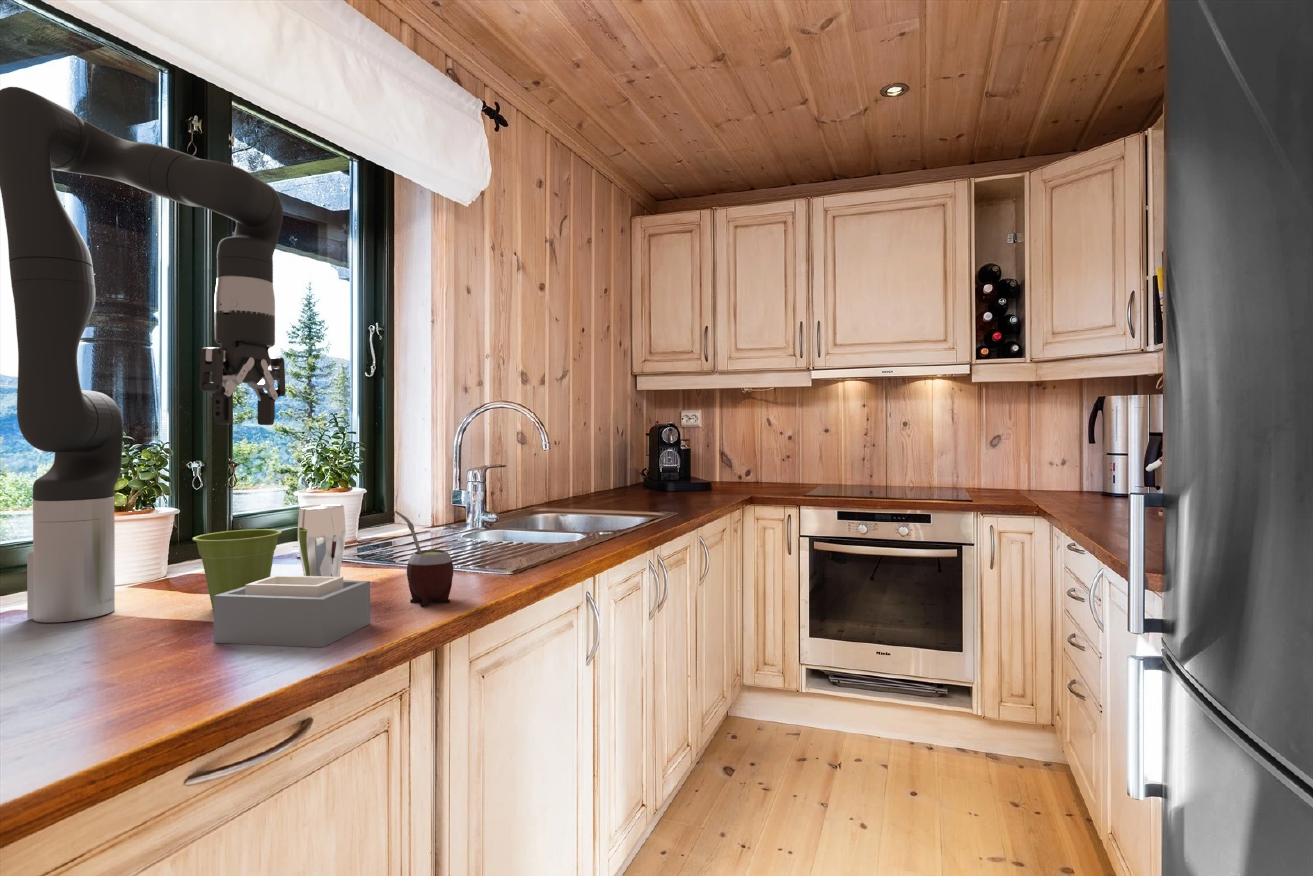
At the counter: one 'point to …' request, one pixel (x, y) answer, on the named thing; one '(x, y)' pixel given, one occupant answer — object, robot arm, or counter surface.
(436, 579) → the mate gourd
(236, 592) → the slate crate
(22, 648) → the counter surface
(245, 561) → the plant pot
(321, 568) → the beer glass
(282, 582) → the white crate
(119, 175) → the robot arm
